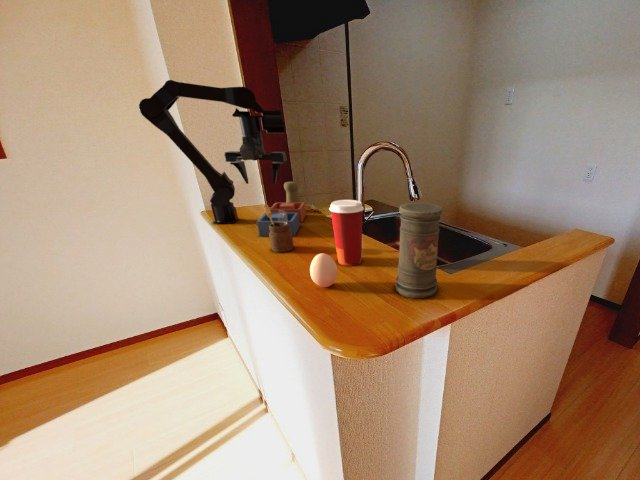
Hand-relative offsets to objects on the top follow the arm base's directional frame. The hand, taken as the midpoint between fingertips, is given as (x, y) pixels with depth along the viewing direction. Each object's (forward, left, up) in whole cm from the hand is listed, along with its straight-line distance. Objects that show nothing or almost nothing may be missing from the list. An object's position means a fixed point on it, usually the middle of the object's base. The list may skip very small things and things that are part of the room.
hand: (261, 183), depth 111 cm
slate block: (+8, -16, -11) cm, 21 cm away
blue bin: (+8, -16, -12) cm, 22 cm away
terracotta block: (+8, -1, -11) cm, 14 cm away
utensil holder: (+12, -33, -12) cm, 37 cm away
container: (+46, -60, -12) cm, 77 cm away
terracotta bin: (+8, -1, -12) cm, 14 cm away
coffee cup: (+31, -43, -12) cm, 54 cm away
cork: (+8, +10, -12) cm, 18 cm away
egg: (+26, -57, -12) cm, 64 cm away
